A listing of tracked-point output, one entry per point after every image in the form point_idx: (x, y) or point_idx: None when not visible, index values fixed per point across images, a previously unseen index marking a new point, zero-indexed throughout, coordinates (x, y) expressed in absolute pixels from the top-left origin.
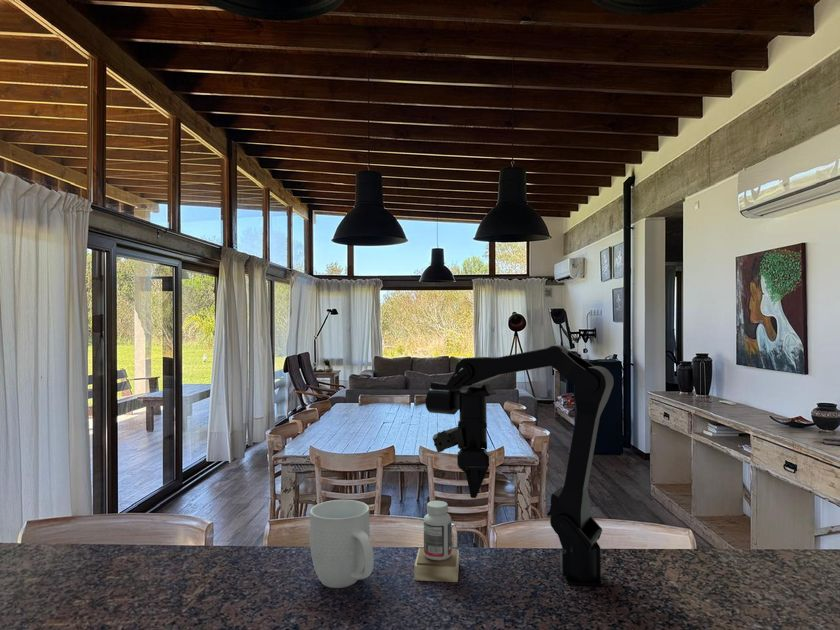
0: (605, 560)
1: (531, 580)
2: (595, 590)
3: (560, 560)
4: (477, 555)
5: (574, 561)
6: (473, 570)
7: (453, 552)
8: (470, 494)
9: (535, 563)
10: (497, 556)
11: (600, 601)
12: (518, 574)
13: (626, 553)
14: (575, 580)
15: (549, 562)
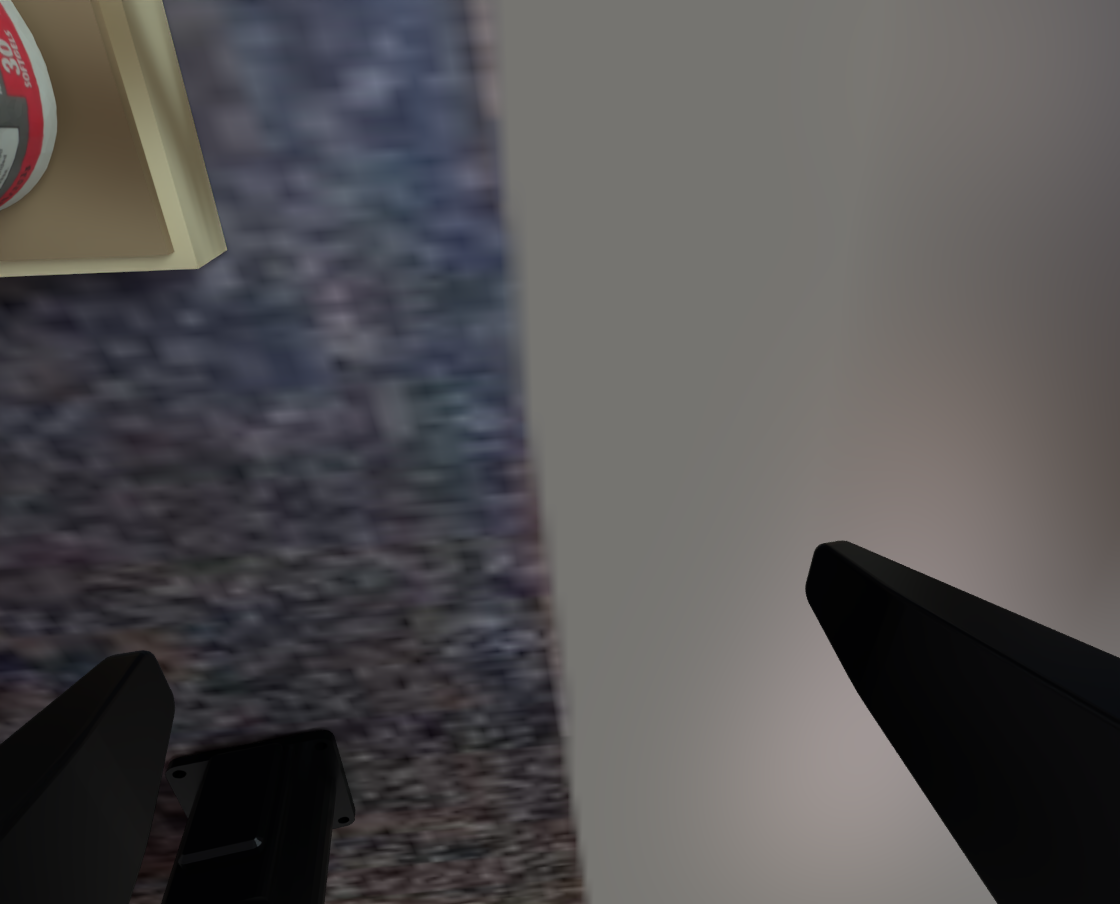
0: (465, 822)
1: (155, 640)
2: (169, 826)
3: (258, 788)
4: (398, 365)
5: (172, 871)
6: (149, 357)
7: (62, 230)
8: (60, 699)
9: (369, 638)
10: (411, 474)
11: None
12: (203, 585)
13: (539, 857)
14: (193, 789)
15: (397, 682)
